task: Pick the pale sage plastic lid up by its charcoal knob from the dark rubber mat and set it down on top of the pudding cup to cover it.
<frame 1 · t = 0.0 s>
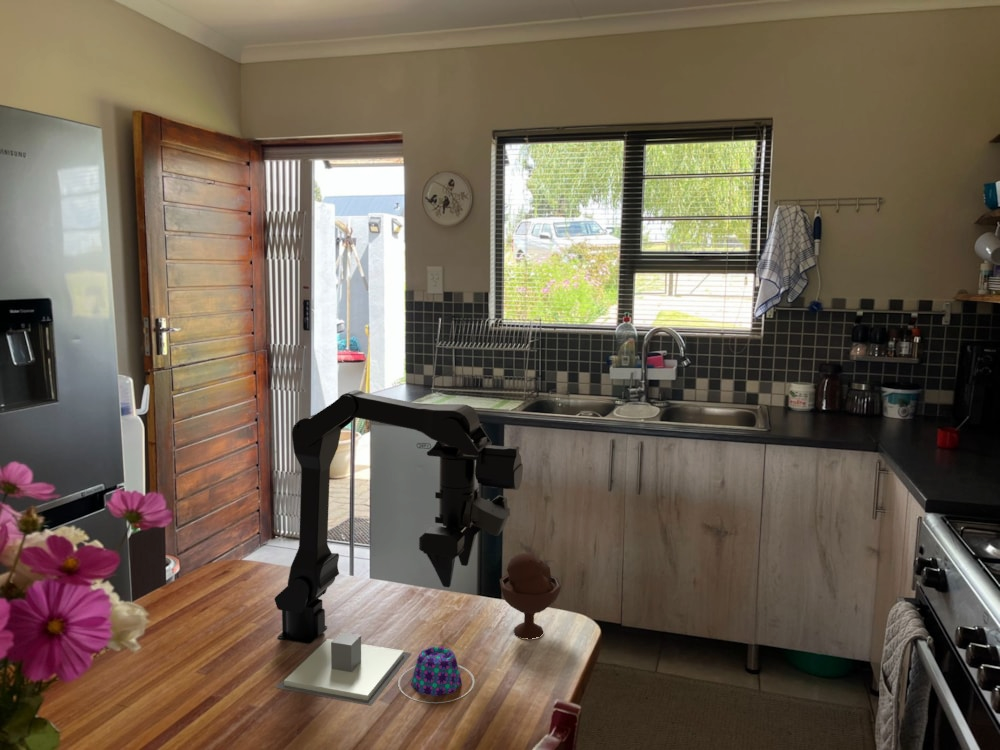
hand: (455, 575, 124), 15 cm above the table, tool pointing down, fingers open, 9 cm apart
mat: (346, 672, 121), on the table
lid: (346, 669, 121), resting on mat
ice cream bowl: (528, 633, 136), on the table
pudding: (436, 687, 118), on the table
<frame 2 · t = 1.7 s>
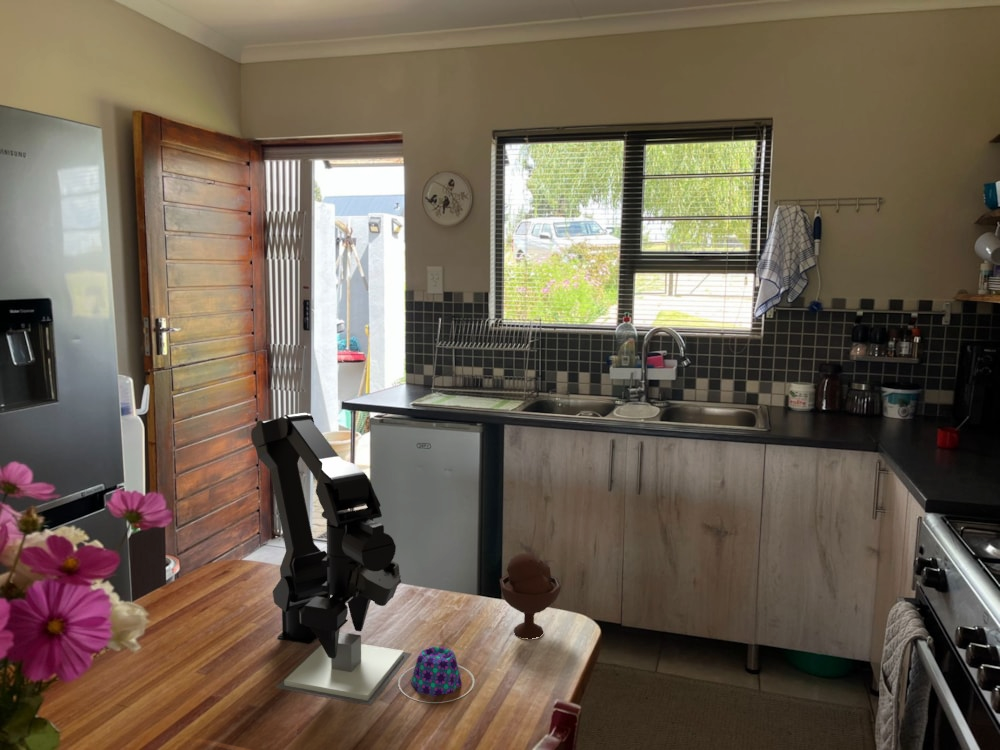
hand: (345, 643, 121), 5 cm above the table, tool pointing down, fingers open, 9 cm apart
nothing on the table moved.
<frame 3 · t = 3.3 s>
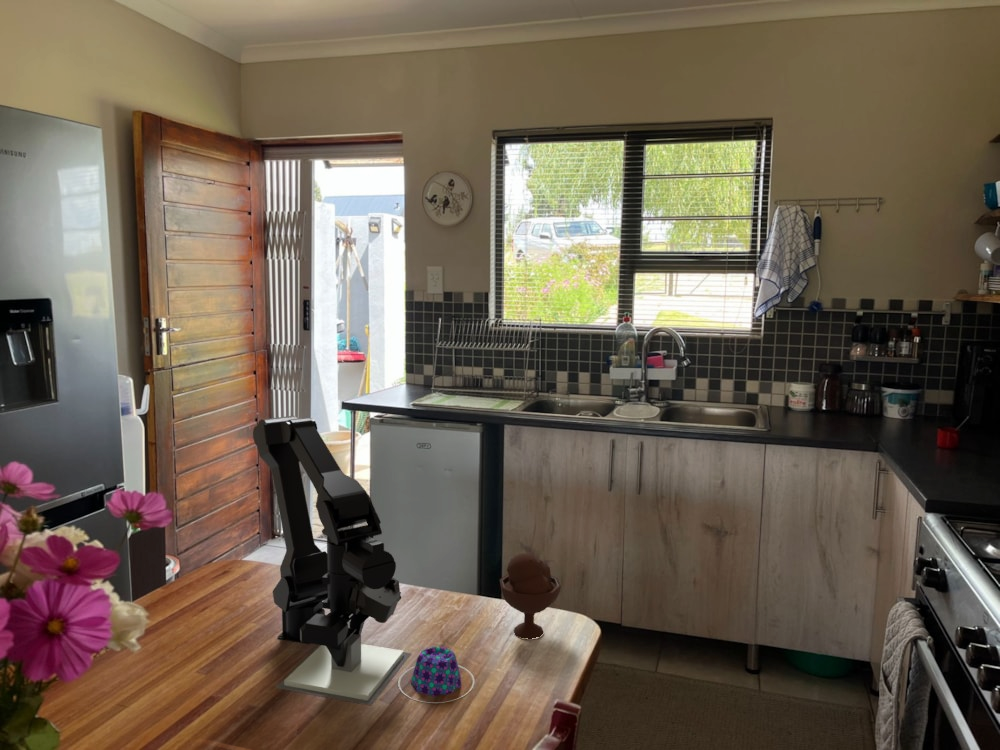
hand: (346, 660, 121), 2 cm above the table, tool pointing down, fingers closed on lid, 3 cm apart
lid: (346, 669, 121), resting on mat, touching gripper
everything else where it was.
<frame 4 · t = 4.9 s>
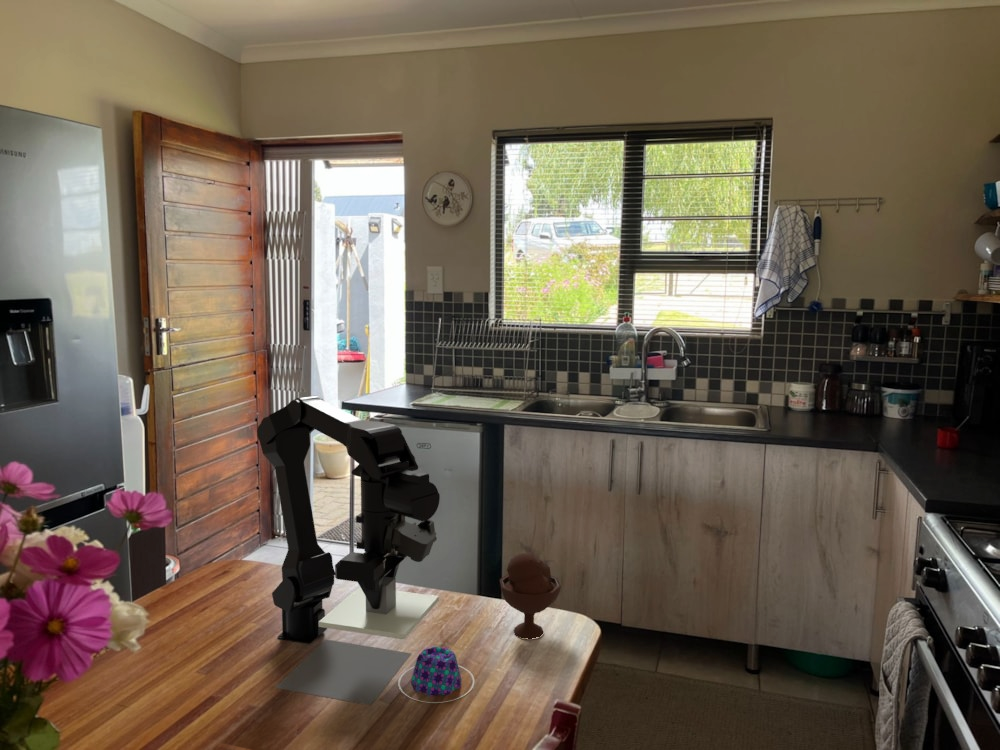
hand: (381, 603, 118), 12 cm above the table, tool pointing down, fingers closed on lid, 3 cm apart
lid: (381, 613, 118), point 11 cm above the table, touching gripper
everything else where it was.
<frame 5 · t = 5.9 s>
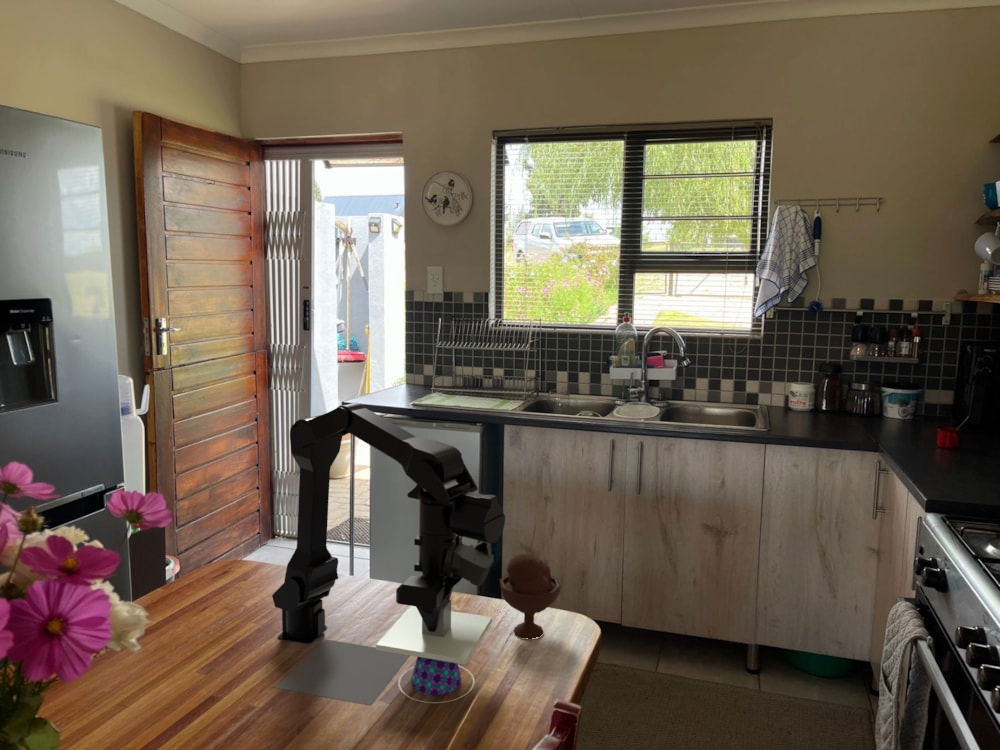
hand: (436, 625, 117), 10 cm above the table, tool pointing down, fingers closed on lid, 3 cm apart
lid: (436, 635, 117), point 8 cm above the table, touching gripper
everything else where it was.
when the fingers open (8 cm above the table, at t = 6.8 s): lid drops 1 cm, point 5 cm above the table.
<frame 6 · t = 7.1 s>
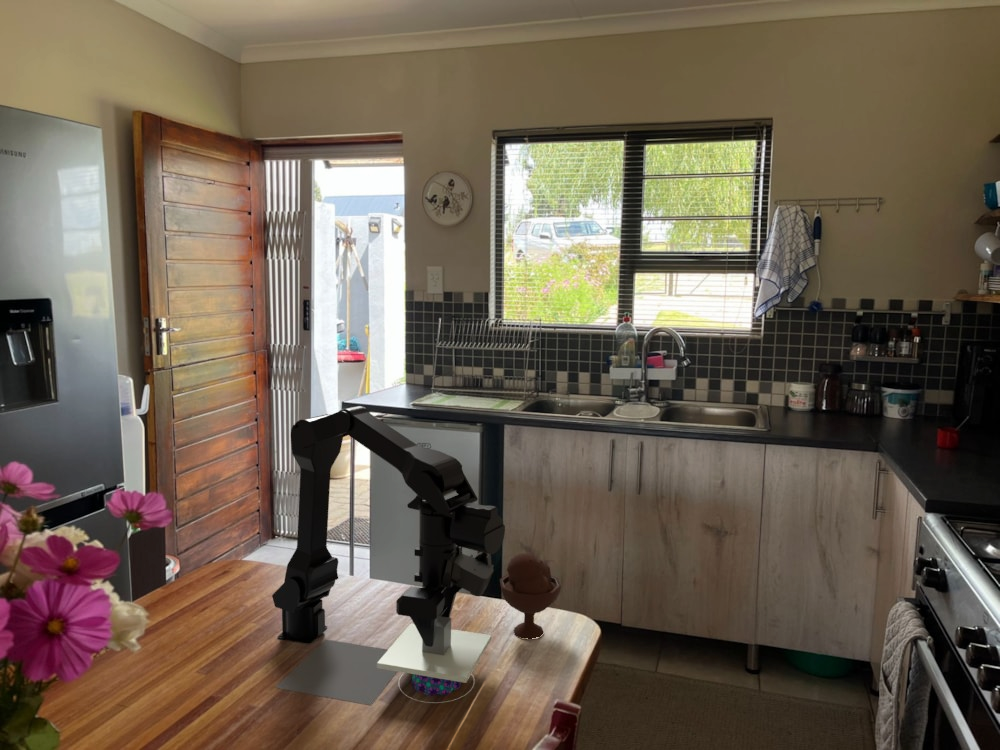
hand: (436, 635, 117), 8 cm above the table, tool pointing down, fingers open, 6 cm apart
lid: (436, 653, 118), point 5 cm above the table
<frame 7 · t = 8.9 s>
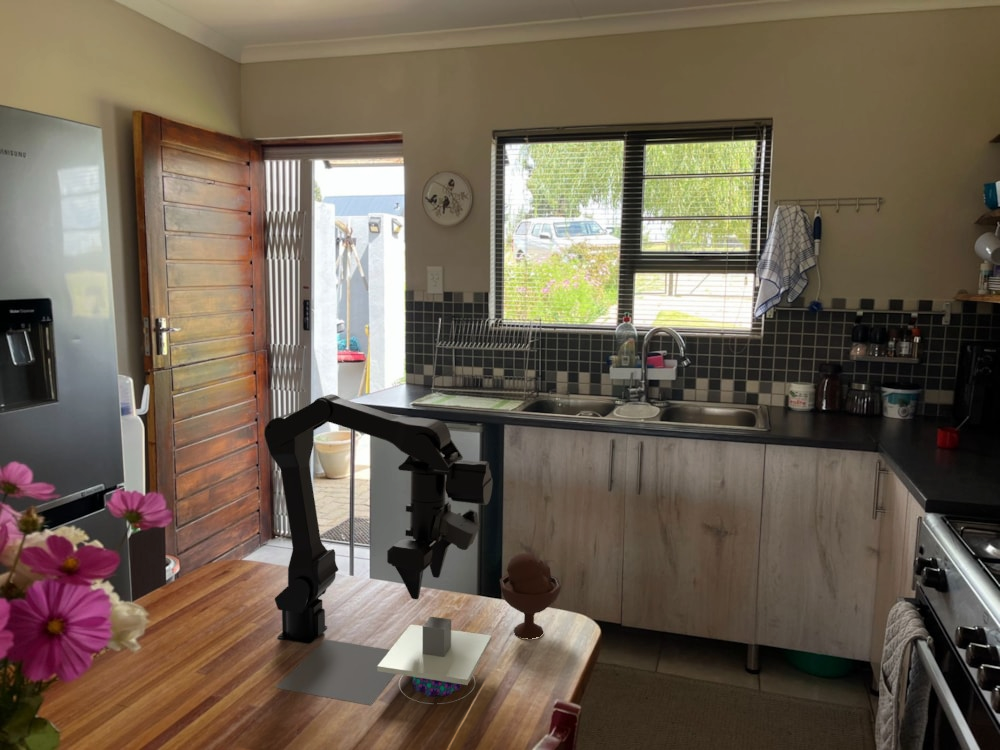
hand: (426, 587, 126), 12 cm above the table, tool pointing down, fingers open, 9 cm apart
lid: (436, 654, 118), point 5 cm above the table, touching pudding
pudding: (437, 687, 118), on the table, touching lid
everything else where it was.
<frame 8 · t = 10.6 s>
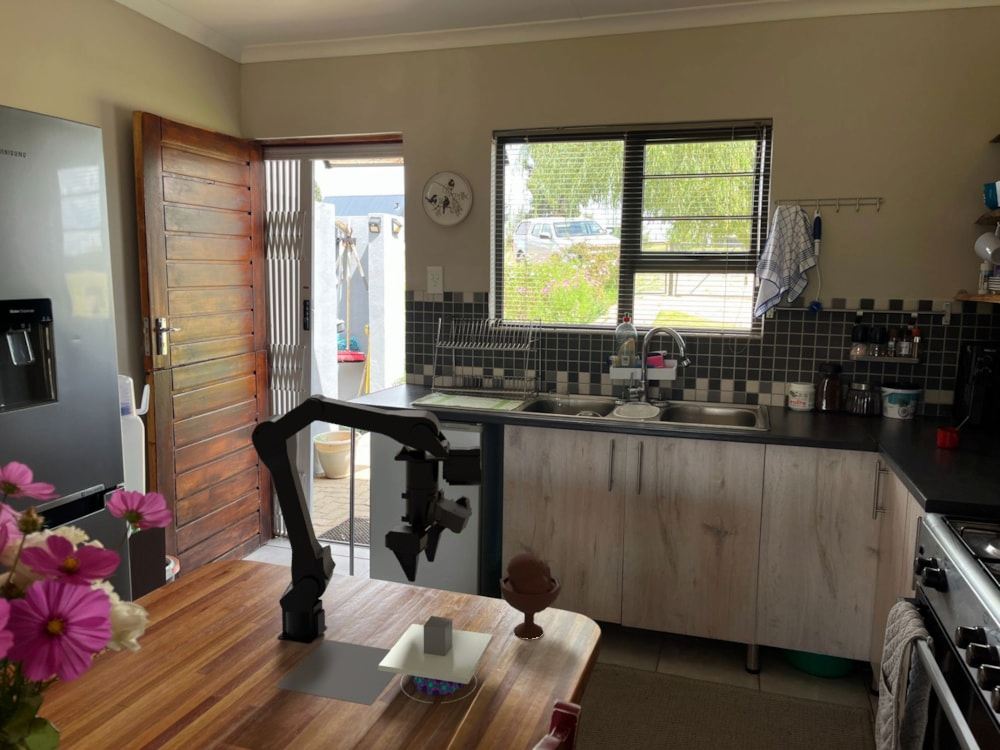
hand: (421, 571, 132), 12 cm above the table, tool pointing down, fingers open, 9 cm apart
nothing on the table moved.
at the end: lid 0.3 cm off-centre on the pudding, point 5.4 cm above the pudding's base; lid tilted 0°; lid touching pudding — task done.
